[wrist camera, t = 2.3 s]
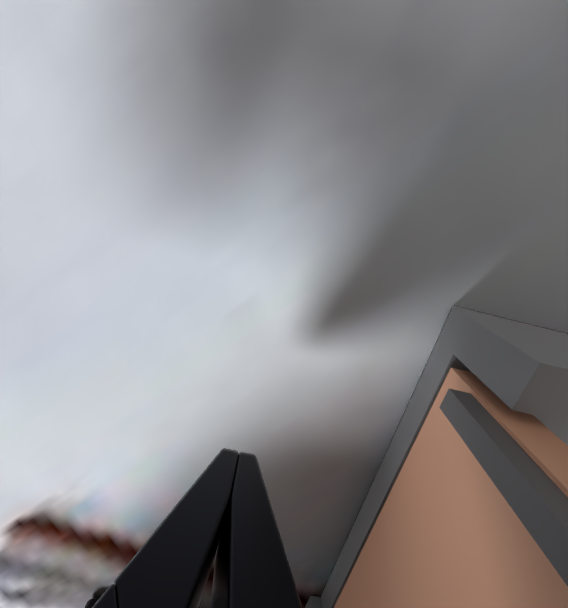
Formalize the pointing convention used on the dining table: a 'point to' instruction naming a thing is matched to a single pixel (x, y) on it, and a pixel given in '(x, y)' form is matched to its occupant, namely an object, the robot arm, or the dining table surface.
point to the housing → (495, 375)
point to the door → (470, 512)
